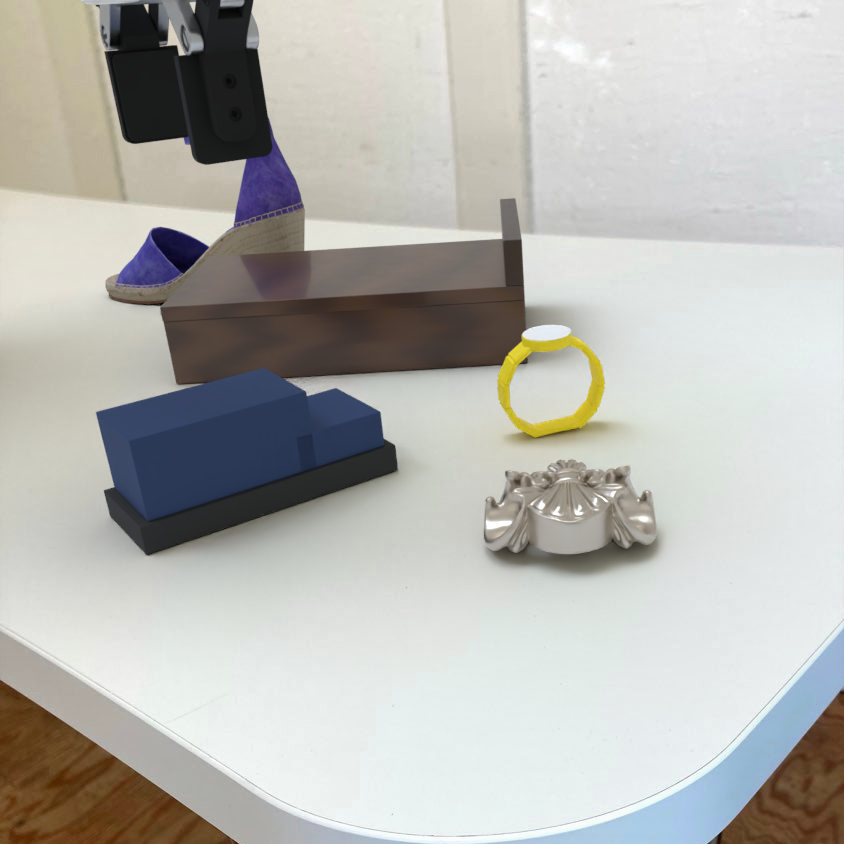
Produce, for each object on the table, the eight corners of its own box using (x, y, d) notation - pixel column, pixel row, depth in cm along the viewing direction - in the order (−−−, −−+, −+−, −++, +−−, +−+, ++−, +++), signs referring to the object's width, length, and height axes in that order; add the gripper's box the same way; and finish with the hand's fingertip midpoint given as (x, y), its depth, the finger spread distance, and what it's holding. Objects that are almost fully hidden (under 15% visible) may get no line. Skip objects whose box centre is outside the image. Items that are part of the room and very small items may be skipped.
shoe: (146, 555, 51) (119, 445, 48) (109, 516, 55) (83, 412, 52) (398, 470, 58) (386, 370, 55) (349, 440, 62) (336, 346, 59)
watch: (594, 414, 63) (592, 317, 61) (610, 431, 61) (609, 331, 58) (497, 429, 62) (490, 331, 59) (509, 447, 60) (503, 345, 57)
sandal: (155, 276, 100) (120, 107, 93) (329, 291, 92) (305, 107, 85) (90, 299, 94) (47, 119, 87) (271, 318, 85) (239, 121, 79)
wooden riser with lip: (175, 384, 72) (149, 261, 68) (220, 324, 85) (201, 217, 81) (528, 363, 72) (521, 239, 68) (521, 305, 85) (515, 198, 81)
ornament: (648, 500, 53) (648, 433, 51) (663, 570, 47) (663, 496, 45) (488, 507, 53) (483, 440, 51) (481, 577, 47) (475, 504, 45)
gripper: (-47, -293, 44) (58, 144, 51) (51, -429, 31) (173, 184, 38) (136, -282, 47) (208, 124, 55) (293, -400, 34) (359, 155, 42)
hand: (193, 148), depth 47 cm, fingers open, 9 cm apart
